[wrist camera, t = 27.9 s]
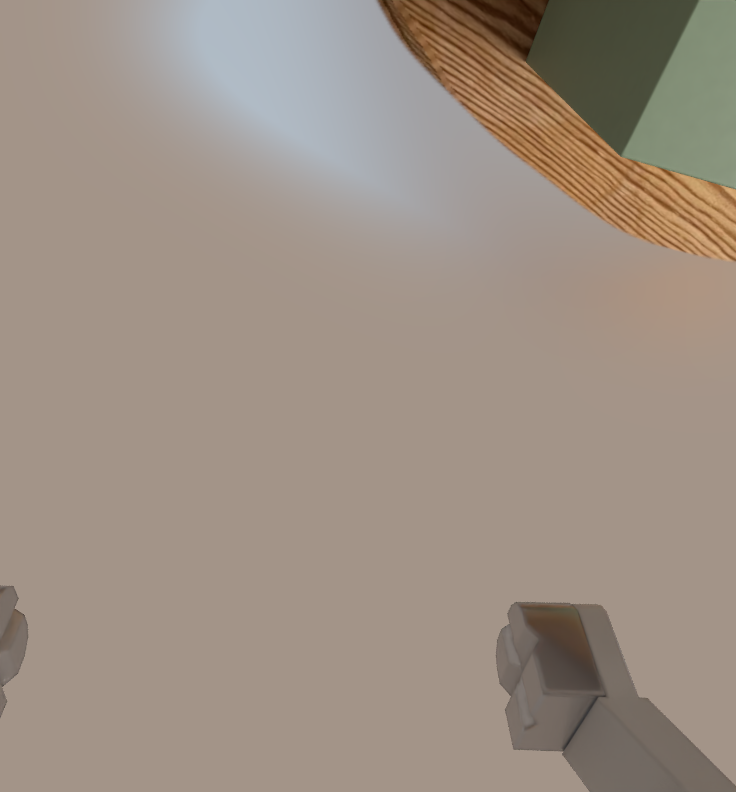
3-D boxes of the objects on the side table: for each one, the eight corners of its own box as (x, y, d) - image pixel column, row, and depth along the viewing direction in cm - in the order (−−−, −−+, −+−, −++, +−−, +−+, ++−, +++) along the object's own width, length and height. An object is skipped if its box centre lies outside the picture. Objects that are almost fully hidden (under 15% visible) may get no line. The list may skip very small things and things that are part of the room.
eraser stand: (524, 62, 40) (619, 156, 27) (585, -97, 36) (736, -78, 22) (641, 97, 42) (786, 204, 28) (714, -50, 37) (928, -6, 24)
